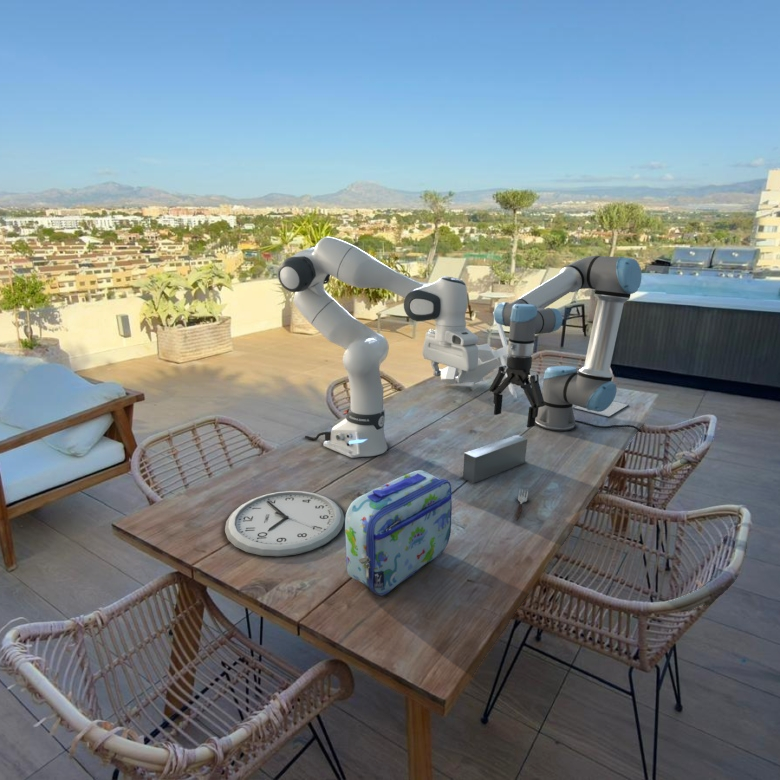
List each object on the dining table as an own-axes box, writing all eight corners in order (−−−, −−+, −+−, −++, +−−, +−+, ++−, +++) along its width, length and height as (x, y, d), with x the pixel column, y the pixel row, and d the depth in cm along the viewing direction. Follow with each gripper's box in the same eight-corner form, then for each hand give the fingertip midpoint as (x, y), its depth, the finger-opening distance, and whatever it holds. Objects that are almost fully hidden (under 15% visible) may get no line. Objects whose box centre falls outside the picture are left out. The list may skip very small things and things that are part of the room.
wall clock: (344, 547, 121) (211, 552, 118) (344, 554, 121) (212, 558, 119) (344, 486, 149) (237, 489, 147) (344, 491, 150) (237, 494, 147)
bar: (514, 457, 174) (516, 434, 172) (525, 462, 171) (527, 438, 169) (462, 477, 160) (464, 452, 157) (473, 483, 157) (475, 457, 154)
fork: (511, 521, 136) (512, 514, 136) (519, 493, 150) (519, 487, 150) (521, 523, 135) (522, 516, 135) (528, 495, 150) (528, 489, 149)
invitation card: (608, 416, 214) (573, 407, 224) (608, 416, 214) (573, 408, 224) (628, 404, 229) (594, 396, 238) (628, 405, 229) (594, 397, 238)
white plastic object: (461, 429, 252) (437, 405, 227) (444, 352, 274) (420, 323, 250) (535, 404, 240) (518, 377, 215) (510, 326, 262) (492, 293, 237)
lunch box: (373, 608, 104) (374, 515, 98) (339, 582, 112) (337, 495, 105) (455, 554, 122) (460, 473, 116) (421, 535, 129) (424, 458, 123)
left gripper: (418, 329, 159) (417, 373, 163) (467, 341, 144) (464, 389, 148) (433, 327, 163) (432, 370, 167) (483, 338, 147) (479, 385, 151)
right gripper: (481, 349, 168) (476, 411, 174) (545, 365, 149) (538, 434, 155) (497, 346, 172) (492, 407, 178) (561, 362, 153) (553, 429, 159)
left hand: (447, 379), depth 157 cm, fingers open, 8 cm apart
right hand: (513, 420), depth 167 cm, fingers open, 13 cm apart
